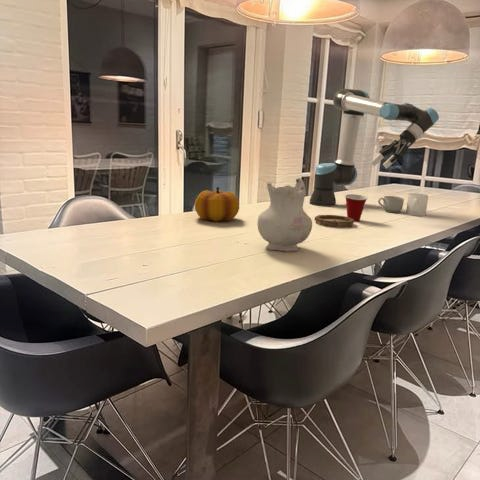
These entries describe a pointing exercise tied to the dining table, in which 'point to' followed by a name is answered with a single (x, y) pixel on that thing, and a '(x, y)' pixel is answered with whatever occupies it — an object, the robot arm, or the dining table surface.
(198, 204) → the decorative pumpkin
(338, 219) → the octagonal wooden tray
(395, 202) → the teacup
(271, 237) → the ceramic pitcher
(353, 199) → the plastic cup
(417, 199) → the mug
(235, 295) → the dining table surface
